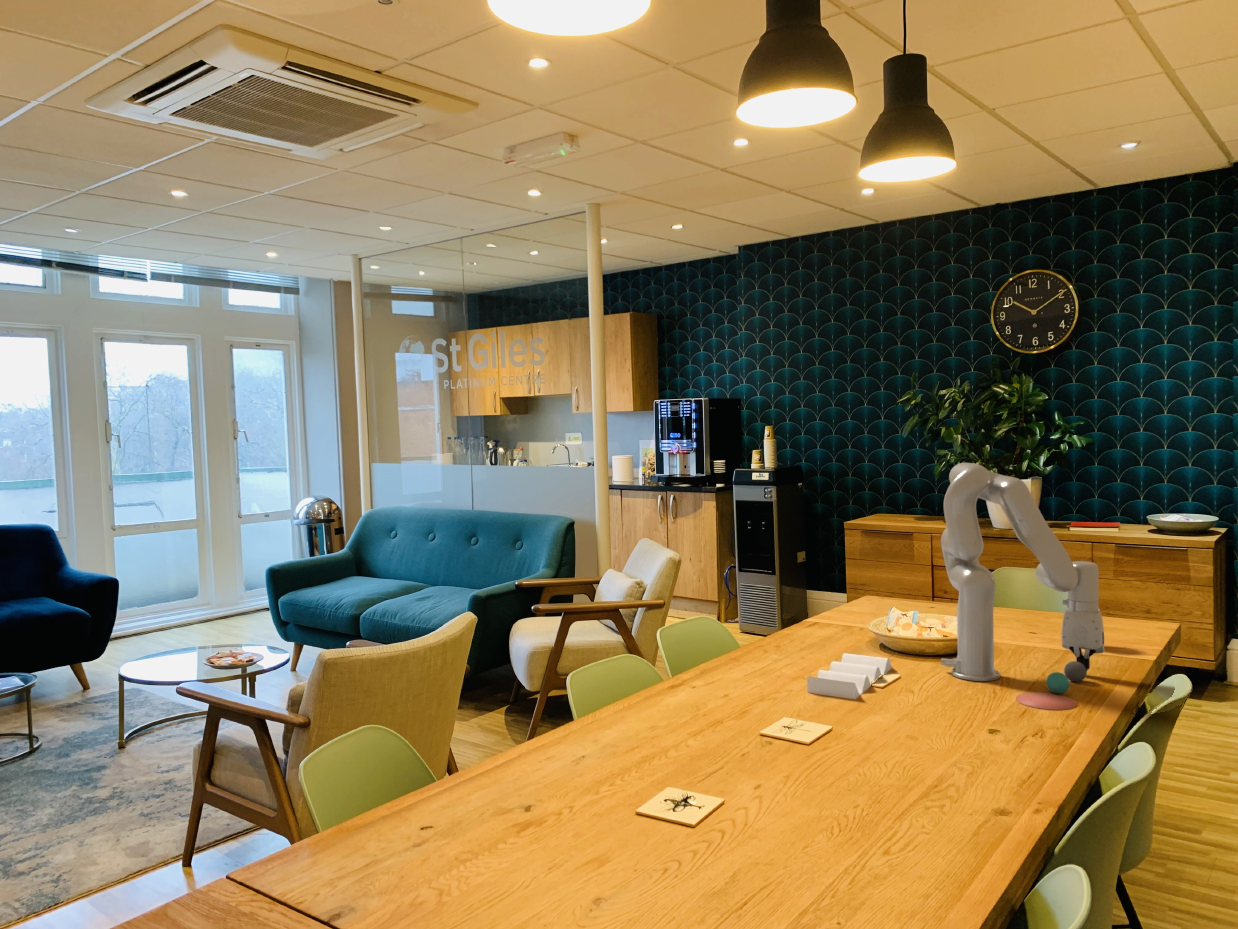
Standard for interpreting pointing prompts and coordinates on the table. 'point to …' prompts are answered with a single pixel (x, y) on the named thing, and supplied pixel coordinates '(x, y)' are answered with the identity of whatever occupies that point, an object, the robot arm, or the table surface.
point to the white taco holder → (848, 676)
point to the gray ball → (1075, 671)
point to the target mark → (1046, 701)
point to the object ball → (1057, 682)
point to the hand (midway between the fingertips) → (1083, 671)
